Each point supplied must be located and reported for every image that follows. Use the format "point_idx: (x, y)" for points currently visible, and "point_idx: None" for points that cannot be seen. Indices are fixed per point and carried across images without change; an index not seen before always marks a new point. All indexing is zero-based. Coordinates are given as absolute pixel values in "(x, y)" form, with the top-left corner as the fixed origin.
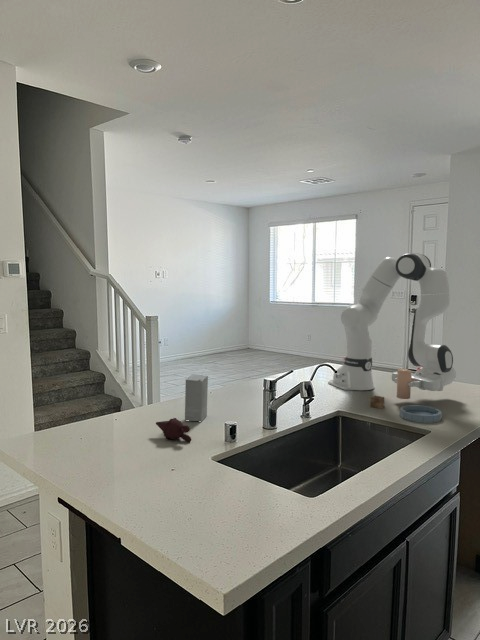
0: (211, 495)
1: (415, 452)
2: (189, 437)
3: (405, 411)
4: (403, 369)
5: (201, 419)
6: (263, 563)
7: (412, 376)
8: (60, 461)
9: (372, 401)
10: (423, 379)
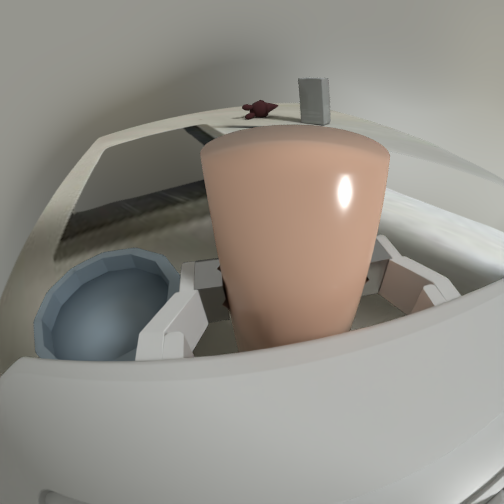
0: (153, 128)
1: (61, 203)
2: (246, 115)
3: (133, 254)
4: (351, 150)
5: (301, 119)
6: (96, 141)
7: (363, 376)
8: None
9: None
10: (101, 381)
